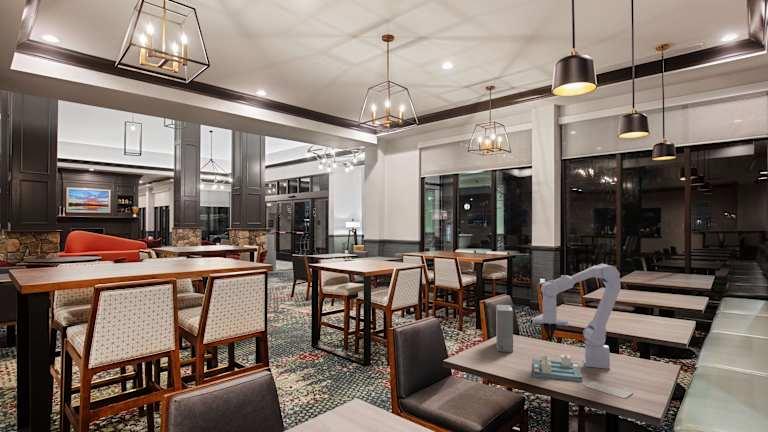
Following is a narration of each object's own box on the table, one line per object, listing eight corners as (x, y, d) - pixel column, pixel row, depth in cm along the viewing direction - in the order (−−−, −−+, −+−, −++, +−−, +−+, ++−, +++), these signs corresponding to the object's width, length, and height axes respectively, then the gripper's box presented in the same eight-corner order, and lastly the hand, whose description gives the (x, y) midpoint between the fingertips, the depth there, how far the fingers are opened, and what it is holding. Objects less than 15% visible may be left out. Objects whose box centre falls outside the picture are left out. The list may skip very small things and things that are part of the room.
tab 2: (550, 371, 170) (550, 360, 170) (551, 374, 167) (551, 363, 167) (541, 370, 171) (541, 359, 171) (542, 373, 168) (541, 362, 168)
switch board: (578, 367, 178) (578, 363, 178) (582, 381, 162) (582, 377, 162) (533, 362, 184) (533, 359, 184) (533, 376, 168) (533, 372, 168)
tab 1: (550, 366, 175) (550, 356, 175) (550, 369, 172) (550, 358, 172) (541, 366, 177) (541, 355, 177) (541, 368, 173) (541, 357, 173)
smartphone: (625, 398, 146) (583, 385, 158) (625, 400, 146) (583, 387, 158) (633, 393, 150) (591, 381, 162) (633, 394, 150) (591, 382, 162)
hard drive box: (513, 352, 198) (513, 311, 198) (497, 351, 200) (496, 310, 200) (511, 343, 213) (510, 304, 214) (496, 342, 215) (495, 304, 215)
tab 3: (570, 364, 178) (569, 354, 178) (570, 367, 174) (570, 356, 174) (561, 363, 179) (561, 353, 179) (561, 366, 176) (561, 355, 176)
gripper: (566, 309, 185) (567, 339, 184) (532, 307, 190) (532, 337, 189) (568, 312, 178) (568, 344, 178) (532, 310, 183) (532, 341, 183)
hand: (550, 340), depth 183 cm, fingers closed
